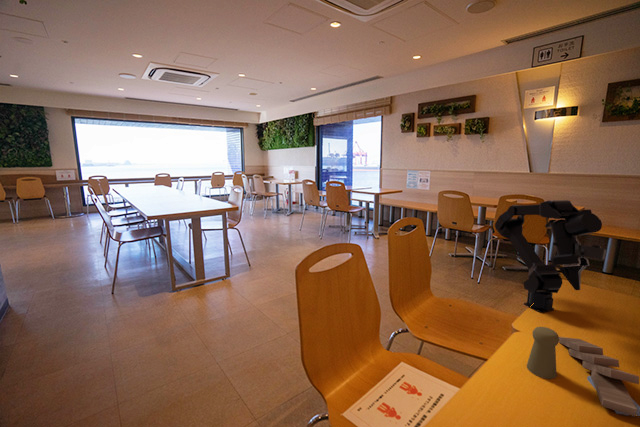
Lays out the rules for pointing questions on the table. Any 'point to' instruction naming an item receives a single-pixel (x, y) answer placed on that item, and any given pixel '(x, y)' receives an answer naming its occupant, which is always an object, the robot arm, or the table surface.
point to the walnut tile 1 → (581, 345)
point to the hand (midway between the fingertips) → (577, 290)
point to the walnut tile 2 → (595, 358)
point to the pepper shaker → (543, 353)
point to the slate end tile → (638, 413)
